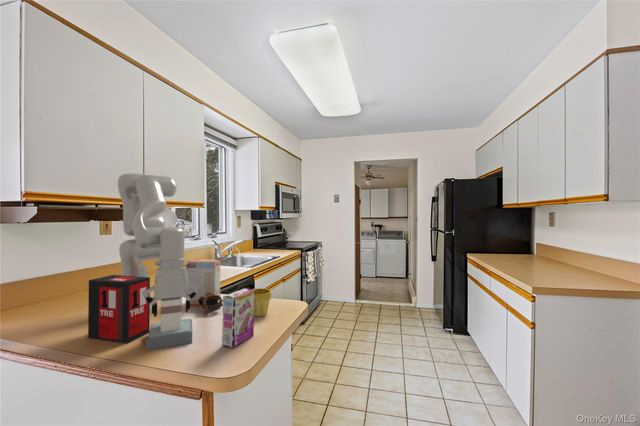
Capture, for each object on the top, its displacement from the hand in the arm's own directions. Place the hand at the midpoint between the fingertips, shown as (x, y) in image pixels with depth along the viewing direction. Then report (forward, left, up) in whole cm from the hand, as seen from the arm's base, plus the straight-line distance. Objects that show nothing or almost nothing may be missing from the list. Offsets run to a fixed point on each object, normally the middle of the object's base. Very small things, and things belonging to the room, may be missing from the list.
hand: (171, 313), depth 98 cm
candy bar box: (+21, -11, -9) cm, 25 cm away
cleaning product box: (-17, +10, -9) cm, 21 cm away
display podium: (0, 0, -9) cm, 9 cm away
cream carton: (0, 0, -5) cm, 5 cm away
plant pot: (+33, +12, -9) cm, 36 cm away
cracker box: (+12, +36, -9) cm, 39 cm away
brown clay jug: (+14, +24, -9) cm, 29 cm away
